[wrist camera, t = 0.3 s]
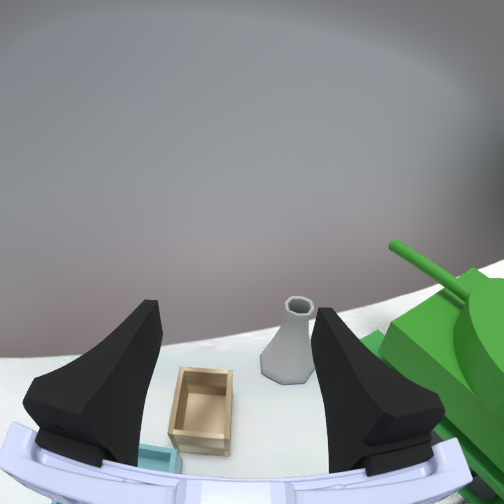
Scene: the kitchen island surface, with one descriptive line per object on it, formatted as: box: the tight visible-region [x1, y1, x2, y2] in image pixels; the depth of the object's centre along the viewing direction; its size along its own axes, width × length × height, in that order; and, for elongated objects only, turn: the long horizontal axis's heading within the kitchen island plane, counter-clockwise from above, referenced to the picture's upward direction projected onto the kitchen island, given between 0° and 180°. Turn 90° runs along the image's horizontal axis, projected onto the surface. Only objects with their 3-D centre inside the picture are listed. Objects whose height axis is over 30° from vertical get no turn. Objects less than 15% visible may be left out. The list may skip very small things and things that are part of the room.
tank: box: [360, 238, 504, 504], centre depth 27 cm, size 24×35×16 cm
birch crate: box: [168, 367, 233, 456], centre depth 27 cm, size 6×8×5 cm
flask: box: [260, 296, 315, 384], centre depth 34 cm, size 7×7×10 cm
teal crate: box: [51, 443, 182, 504], centre depth 19 cm, size 11×11×4 cm
